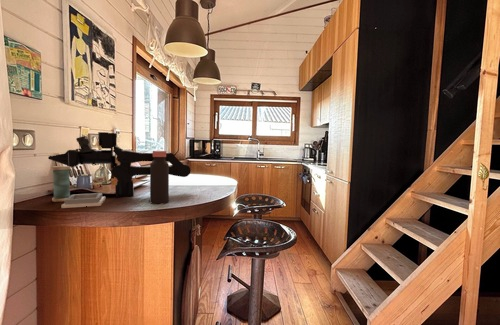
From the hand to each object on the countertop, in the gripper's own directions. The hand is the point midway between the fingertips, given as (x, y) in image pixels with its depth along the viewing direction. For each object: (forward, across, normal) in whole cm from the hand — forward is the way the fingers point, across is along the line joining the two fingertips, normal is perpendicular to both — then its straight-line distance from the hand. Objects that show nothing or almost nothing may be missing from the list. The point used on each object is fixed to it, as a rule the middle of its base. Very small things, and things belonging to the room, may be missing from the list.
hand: (52, 156), depth 99 cm
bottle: (-38, +17, +17) cm, 45 cm away
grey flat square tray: (-12, +11, +17) cm, 23 cm away
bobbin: (-3, +3, +17) cm, 17 cm away
